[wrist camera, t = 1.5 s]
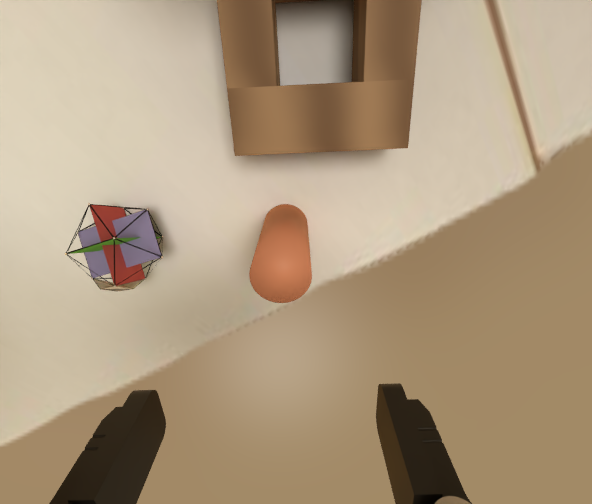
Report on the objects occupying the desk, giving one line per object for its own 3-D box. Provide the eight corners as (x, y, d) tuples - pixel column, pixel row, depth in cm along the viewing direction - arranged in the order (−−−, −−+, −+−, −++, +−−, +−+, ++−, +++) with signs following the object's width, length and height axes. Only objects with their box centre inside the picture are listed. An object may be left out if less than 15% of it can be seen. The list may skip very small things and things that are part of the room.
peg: (266, 246, 31) (252, 303, 22) (262, 205, 29) (246, 249, 20) (308, 244, 31) (312, 301, 22) (306, 203, 29) (311, 246, 20)
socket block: (245, 147, 27) (234, 155, 23) (218, -113, 21) (196, -177, 16) (388, 141, 27) (407, 147, 22) (407, -125, 20) (439, -193, 16)
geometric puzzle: (56, 194, 27) (34, 281, 23) (129, 169, 26) (120, 254, 22) (118, 237, 33) (110, 311, 29) (179, 217, 32) (179, 291, 28)
